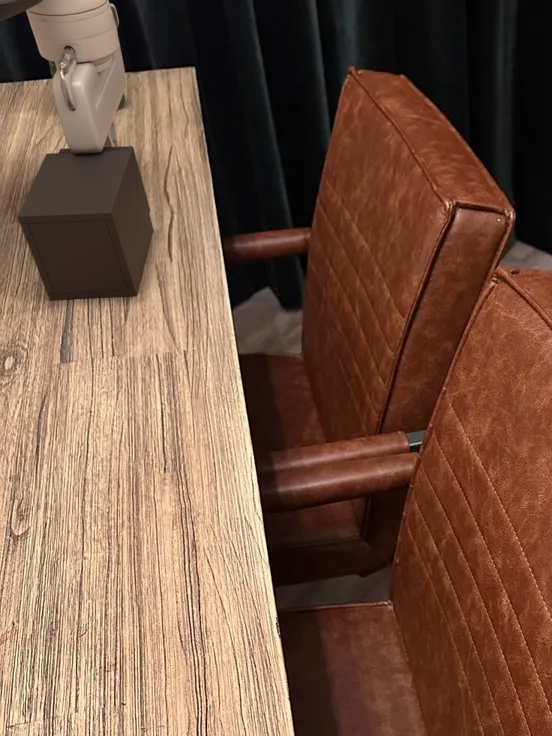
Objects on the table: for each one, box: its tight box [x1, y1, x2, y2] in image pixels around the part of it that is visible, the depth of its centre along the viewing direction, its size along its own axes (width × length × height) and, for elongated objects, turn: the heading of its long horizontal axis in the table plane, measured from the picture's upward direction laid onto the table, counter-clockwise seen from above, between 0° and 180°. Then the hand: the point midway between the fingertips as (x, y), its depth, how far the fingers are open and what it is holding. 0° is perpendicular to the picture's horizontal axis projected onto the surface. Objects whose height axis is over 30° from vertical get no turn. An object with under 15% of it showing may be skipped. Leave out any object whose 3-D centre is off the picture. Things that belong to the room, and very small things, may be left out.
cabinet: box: [16, 151, 154, 301], centre depth 98 cm, size 15×10×10 cm, turn 5°
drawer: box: [58, 145, 151, 215], centre depth 102 cm, size 17×8×8 cm, turn 5°
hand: (112, 158), depth 108 cm, fingers closed
